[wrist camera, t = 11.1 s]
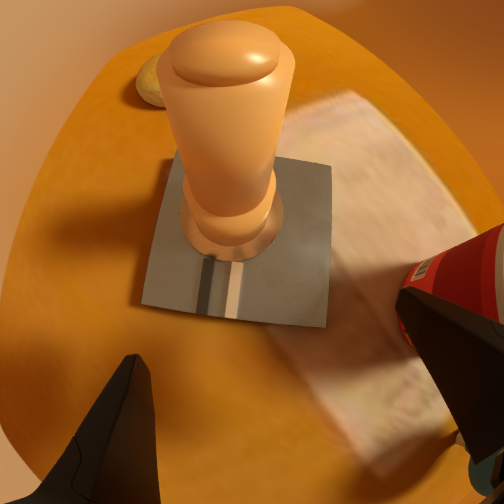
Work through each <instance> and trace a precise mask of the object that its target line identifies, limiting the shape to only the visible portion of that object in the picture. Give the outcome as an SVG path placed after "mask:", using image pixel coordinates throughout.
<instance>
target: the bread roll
mask: <svg viewBox="0 0 504 504" xmlns="http://www.w3.org/2000/svg"><path fill="white" fill-rule="evenodd" d="M161 55H162V53H161V54H157V55H155V56H153V57H152V58H150V59H149V60H148V61H146V62H145V64H144V65H143V66H142V67H141V69H140V70H139V72H138V74H137V77H136V89H137V91H138V93H139V95H140V96H141V97H142V98H143V100H145V101H146V102H148V103H150V104H152V105H154V106H158V107H165V103H164V100H163V96H162V93H161V89H160V85H159V82H158V78H157V74H156V65H157V62H158V59H159V58H160V56H161Z"/></svg>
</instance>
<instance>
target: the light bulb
mask: <svg viewBox="0 0 504 504" xmlns="http://www.w3.org/2000/svg"><path fill="white" fill-rule="evenodd" d="M456 444H458V445H460V446H463V447H465V450H466V451H467V452H468V453H469V451H468V449H467V446H466V444H465V442H464V440H463V437H462V435H461V433H460V432H459V433H458V434H457V437H456ZM503 449H504V447H502V448H501V449H500V450H498V451H497V452H495V453H494V454H492V455H491V456H489V457H488V458H486V459H485V460H483V461H482V462H480V463H479V464H477V465H475V464H474V463H473V460H472V458H471V456H470V460H469V467H468V471H469V479H470V482H471V485H472V486H473V488H474V489H475V490H476V491H477V492H478V493H479V494H481V495H483V496H486V497H487V496H489V495H490V494H491V493H492V492H493V491H494V489H493V487H492V485H491V483H490V480H491V476H492V472H493V467H494V463H495V458H496V456H497V455H498V454H499V453H500V452H501V451H502V450H503ZM469 454H470V453H469Z"/></svg>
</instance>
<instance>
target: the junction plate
mask: <svg viewBox="0 0 504 504" xmlns="http://www.w3.org/2000/svg"><path fill="white" fill-rule="evenodd" d="M273 170H274V173H275V177H276V190H275V194H274V197H273V201H272V205H271V208H270V212H269V215H268V219H267V222H266V225H265V227H264V229H263V230H262V232H261V233H260V234H259V235H258V236H257V237H256V238H254V239H253V240H252V241H250V242H248V243H245V244H243V245H239V246H222V245H218V244H216V243H213V242H211V241H210V240H208V239H207V238H205V237H204V236H203V235H202V234H201V232H200V231H199V230H198V228H197V226H196V223H195V221H194V218H193V216H192V213H191V211H190V208H189V206H188V203H187V200H186V198H185V195H184V190H183V181H184V176H185V170H184V167H183V164H182V161H181V157H180V154H179V151H178V148H177V151H176V154H175V157H174V160H173V164H172V167H171V171H170V174H169V178H168V181H167V185H166V188H165V192H164V196H163V200H162V204H161V208H160V212H159V216H158V220H157V224H156V228H155V233H154V237H153V242H152V247H151V251H150V256H149V261H148V266H147V272H146V277H145V283H144V289H143V295H142V301H141V304H144V305H148V306H154V307H159V308H165V309H170V310H176V311H182V312H188V313H195V314H201V315H208V316H215V317H222V318H230V319H237V320H246V321H254V322H263V323H273V324H283V325H294V326H306V327H319V328H326V319H327V307H328V294H329V279H330V259H331V228H332V177H331V166H328V165H323V164H318V163H312V162H307V161H301V160H295V159H289V158H282V157H275V159H274V164H273Z"/></svg>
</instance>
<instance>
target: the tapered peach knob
mask: <svg viewBox="0 0 504 504" xmlns="http://www.w3.org/2000/svg"><path fill="white" fill-rule="evenodd" d="M294 68H295V59H294V56H293V54H292V52H291V51H290V49H289V48H288V47H287V46H286V45H285V44H283V43H282V42H281V41H280V40H279V38H278V37H277V35H276V34H275V33H273V32H272V31H271V30H269V29H267V28H265V27H263V26H260V25H257V24H254V23H250V22H244V21H233V20H225V21H214V22H209V23H204V24H200V25H197V26H194V27H192V28H189V29H187V30H186V31H184V32H182V33H181V34H179V35H178V36H177V37H176V38H175V39H174V40H173V41H172V43H171V44H170V47H168V48H167V49H166V50H165V51H164V52H163V53H162V55H161V56H160V58H159V59H158V62H157V65H156V74H157V78H158V82H159V85H160V89H161V93H162V96H163V100H164V103H165V107H166V110H167V114H168V117H169V121H170V124H171V128H172V131H173V134H174V138H175V141H176V144H177V148H178V151H179V154H180V157H181V161H182V164H183V167H184V170H185V176H184V181H183V190H184V195H185V198H186V200H187V203H188V206H189V208H190V211H191V213H192V216H193V218H194V221H195V223H196V226H197V228H198V230H199V231H200V232H201V234H202V235H203V236H204V237H205V238H207V239H208V240H210V241H211V242H213V243H216V244H218V245H222V246H239V245H243V244H245V243H248V242H250V241H252V240H253V239H254V238H256V237H257V236H258V235H259V234H260V233H261V232H262V230H263V229H264V227H265V225H266V222H267V219H268V215H269V212H270V208H271V205H272V201H273V197H274V194H275V190H276V177H275V173H274V170H273V164H274V159H275V155H276V150H277V146H278V141H279V137H280V132H281V128H282V123H283V118H284V114H285V109H286V105H287V100H288V96H289V91H290V86H291V82H292V77H293V73H294Z"/></svg>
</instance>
